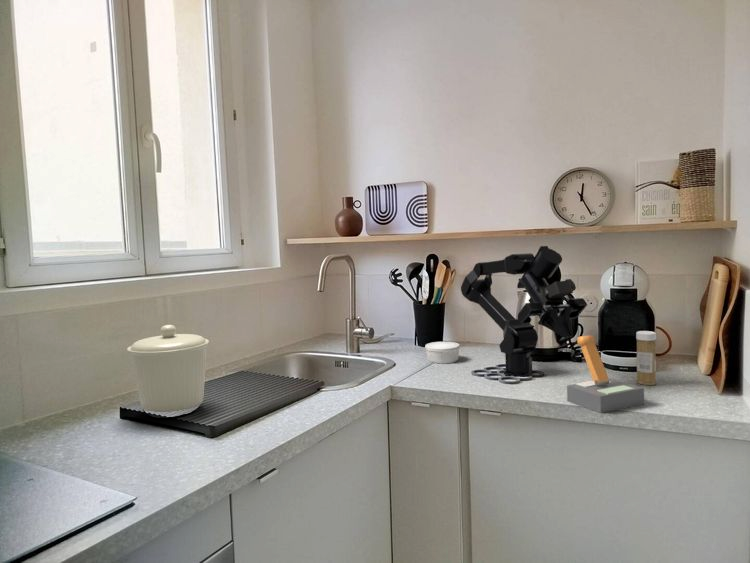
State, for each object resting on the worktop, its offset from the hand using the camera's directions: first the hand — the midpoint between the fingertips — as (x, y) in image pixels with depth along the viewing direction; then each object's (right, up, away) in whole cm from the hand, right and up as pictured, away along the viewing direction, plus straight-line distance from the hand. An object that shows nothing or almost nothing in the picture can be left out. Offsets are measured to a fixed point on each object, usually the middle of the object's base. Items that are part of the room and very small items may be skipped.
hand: (569, 337), depth 129 cm
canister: (-97, -18, -5) cm, 98 cm away
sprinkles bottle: (+22, -13, +5) cm, 26 cm away
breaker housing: (+5, -14, -9) cm, 17 cm away
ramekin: (-26, -12, +39) cm, 49 cm away
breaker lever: (+4, -10, -9) cm, 14 cm away
